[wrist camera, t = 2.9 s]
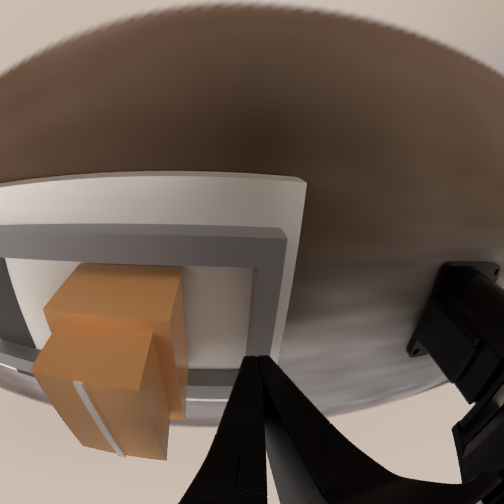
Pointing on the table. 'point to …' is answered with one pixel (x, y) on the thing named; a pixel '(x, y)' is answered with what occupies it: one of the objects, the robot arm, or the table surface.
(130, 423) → the fader knob
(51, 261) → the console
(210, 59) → the table surface
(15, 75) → the table surface
